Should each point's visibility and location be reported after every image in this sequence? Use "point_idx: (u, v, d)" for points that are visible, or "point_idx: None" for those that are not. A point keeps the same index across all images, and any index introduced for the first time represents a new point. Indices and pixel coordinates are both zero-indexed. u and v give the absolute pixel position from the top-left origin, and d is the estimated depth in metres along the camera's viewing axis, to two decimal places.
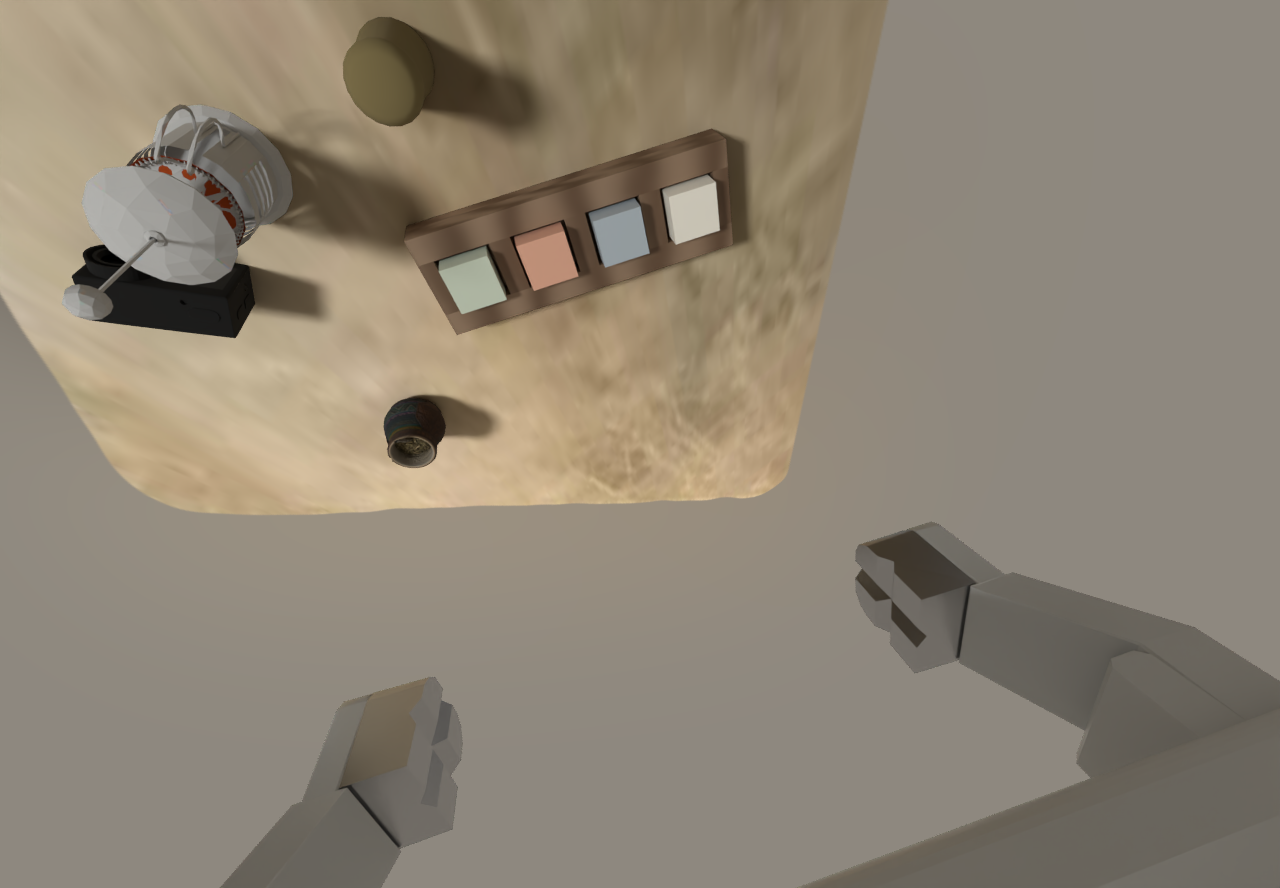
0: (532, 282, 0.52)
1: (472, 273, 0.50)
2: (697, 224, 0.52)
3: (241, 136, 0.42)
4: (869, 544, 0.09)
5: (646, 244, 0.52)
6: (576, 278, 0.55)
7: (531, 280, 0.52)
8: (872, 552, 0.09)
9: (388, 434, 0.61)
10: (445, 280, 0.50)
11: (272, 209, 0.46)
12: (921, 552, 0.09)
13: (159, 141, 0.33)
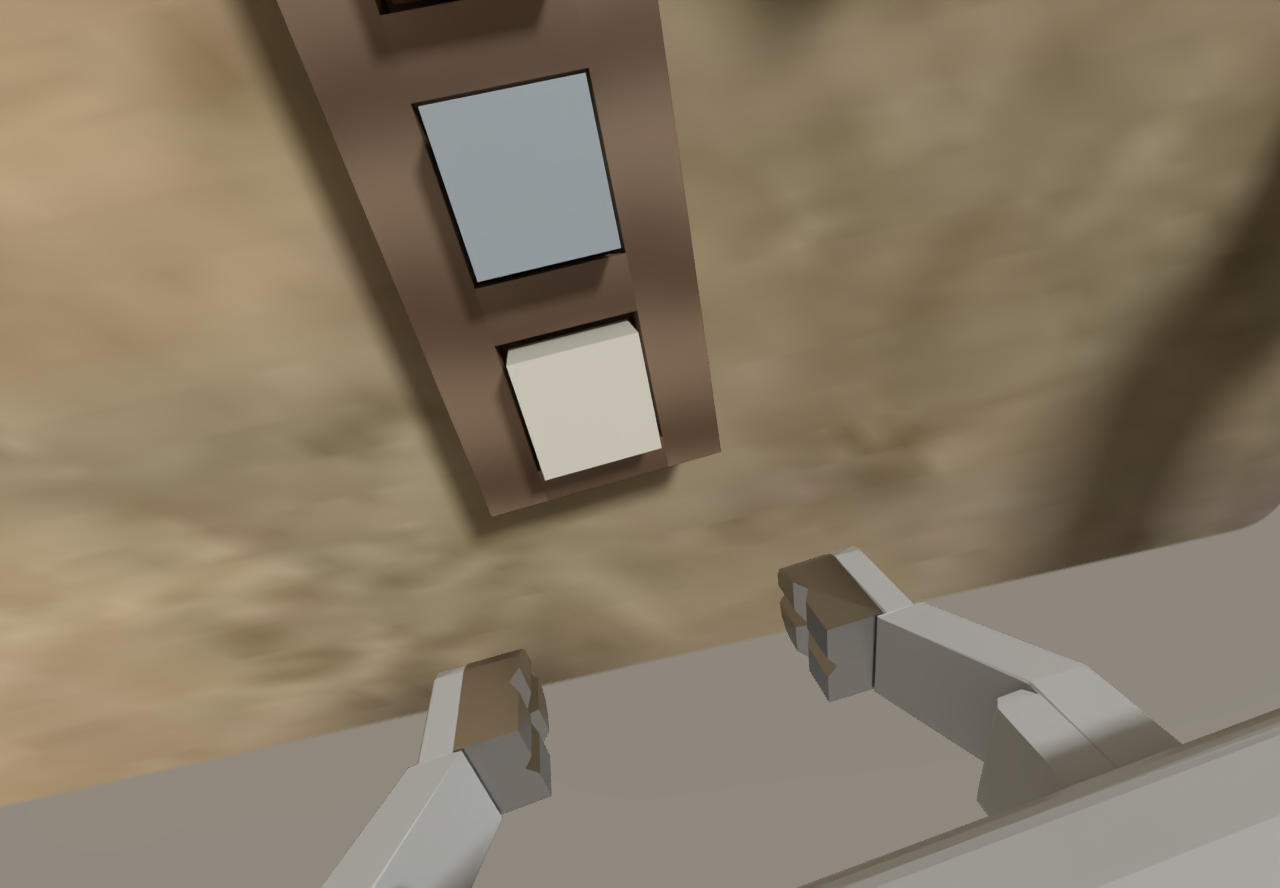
0: None
1: None
2: (562, 419, 0.19)
3: None
4: (787, 569, 0.09)
5: (506, 270, 0.17)
6: None
7: None
8: (789, 578, 0.09)
9: None
10: None
11: None
12: (836, 579, 0.08)
13: None
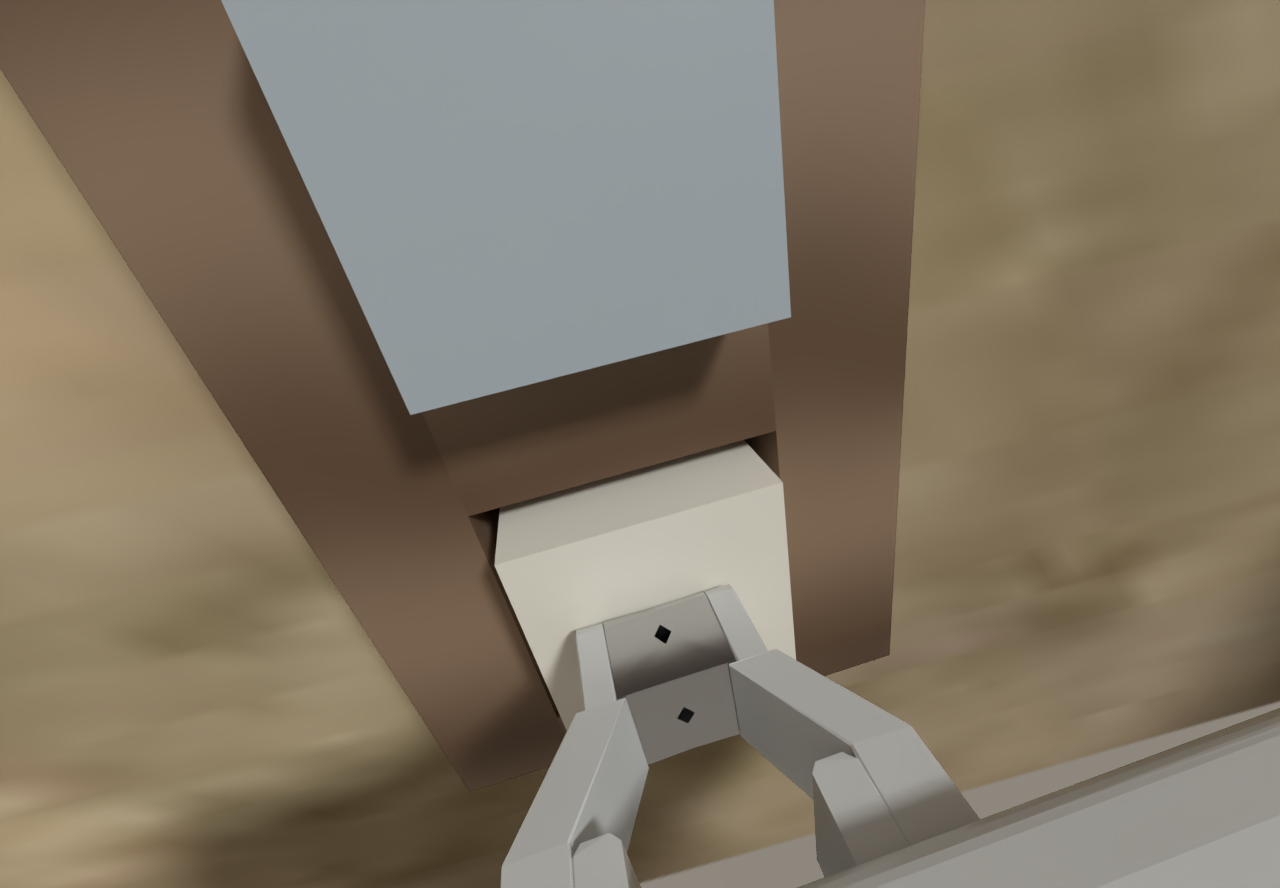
0: None
1: None
2: None
3: None
4: (658, 609, 0.09)
5: (490, 383, 0.06)
6: None
7: None
8: (657, 619, 0.08)
9: None
10: None
11: None
12: (701, 621, 0.08)
13: None
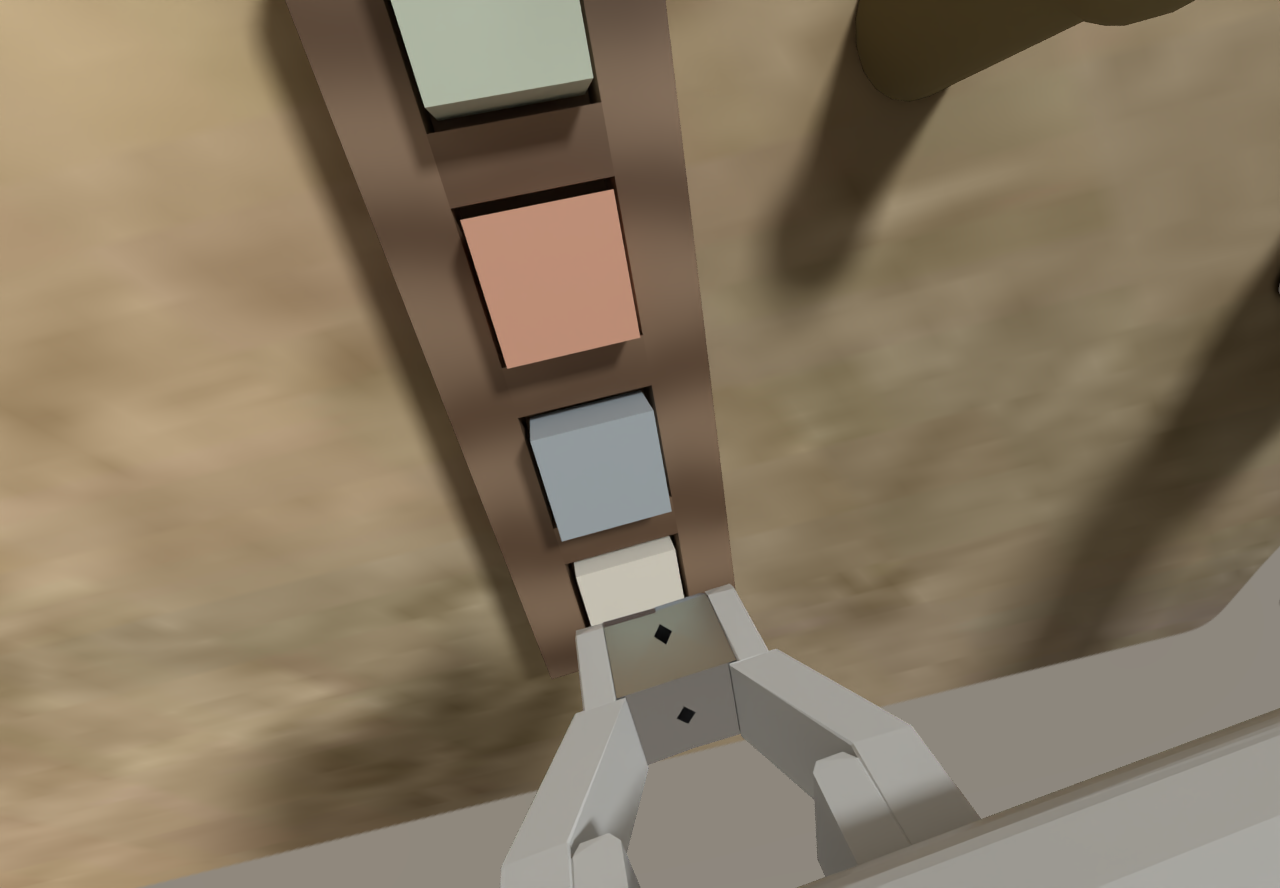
0: (491, 220, 0.16)
1: None
2: (614, 607, 0.25)
3: None
4: (659, 609, 0.09)
5: (584, 532, 0.22)
6: (480, 356, 0.19)
7: (499, 218, 0.16)
8: (657, 619, 0.08)
9: None
10: None
11: None
12: (702, 621, 0.08)
13: None
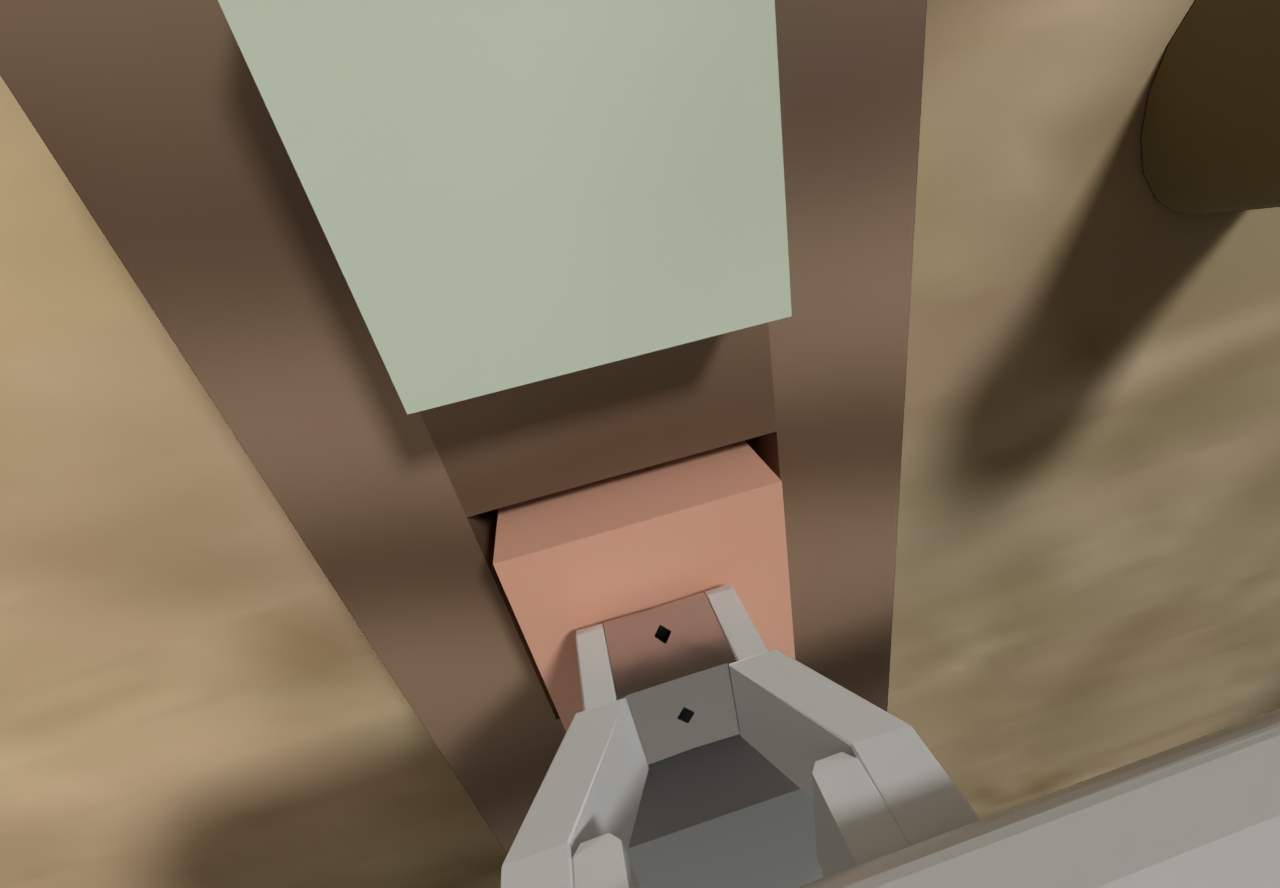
0: (552, 557, 0.08)
1: (676, 156, 0.05)
2: None
3: None
4: (658, 609, 0.09)
5: None
6: (521, 710, 0.11)
7: (566, 552, 0.08)
8: (657, 619, 0.08)
9: None
10: None
11: None
12: (701, 621, 0.08)
13: None
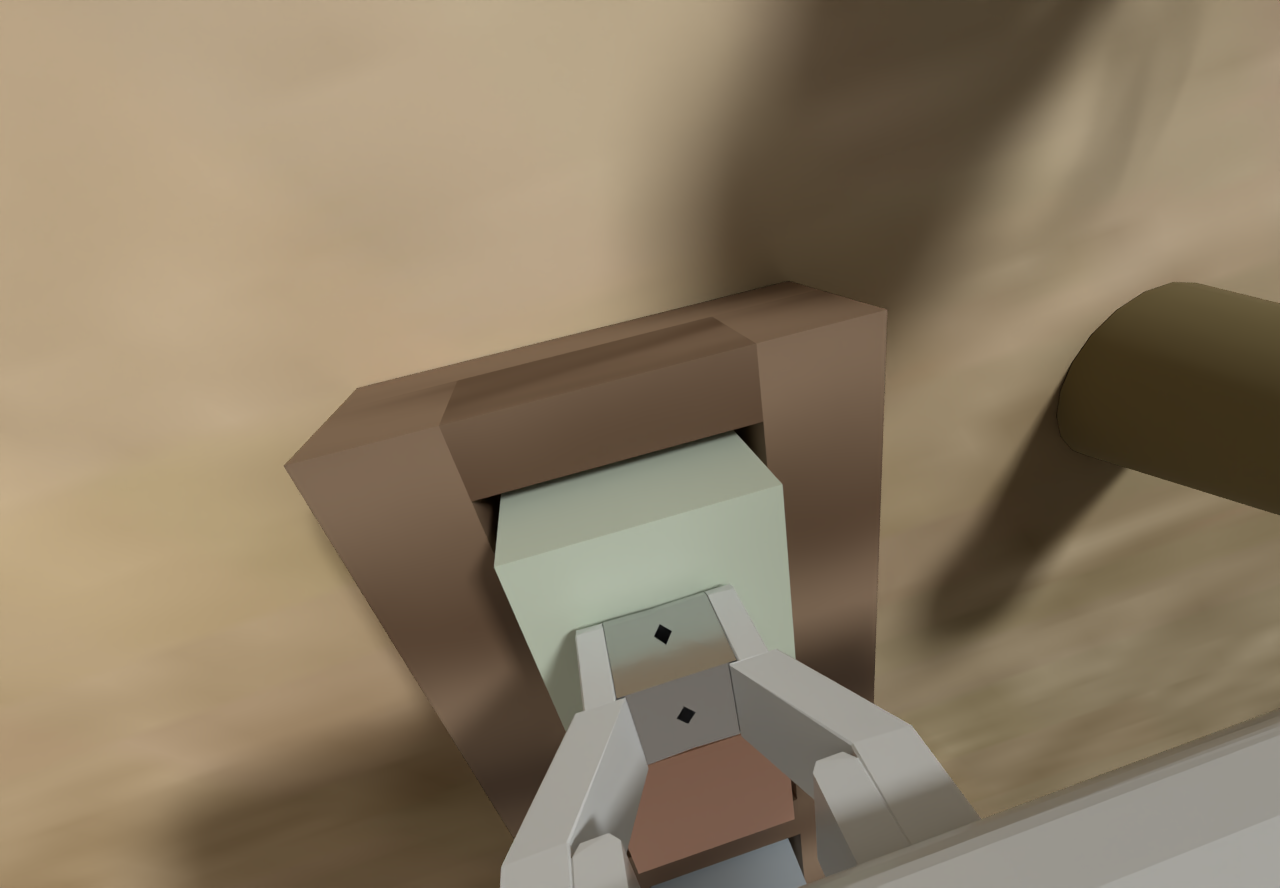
0: None
1: None
2: None
3: None
4: (659, 609, 0.09)
5: None
6: None
7: None
8: (657, 619, 0.08)
9: None
10: (725, 510, 0.08)
11: None
12: (702, 621, 0.08)
13: None
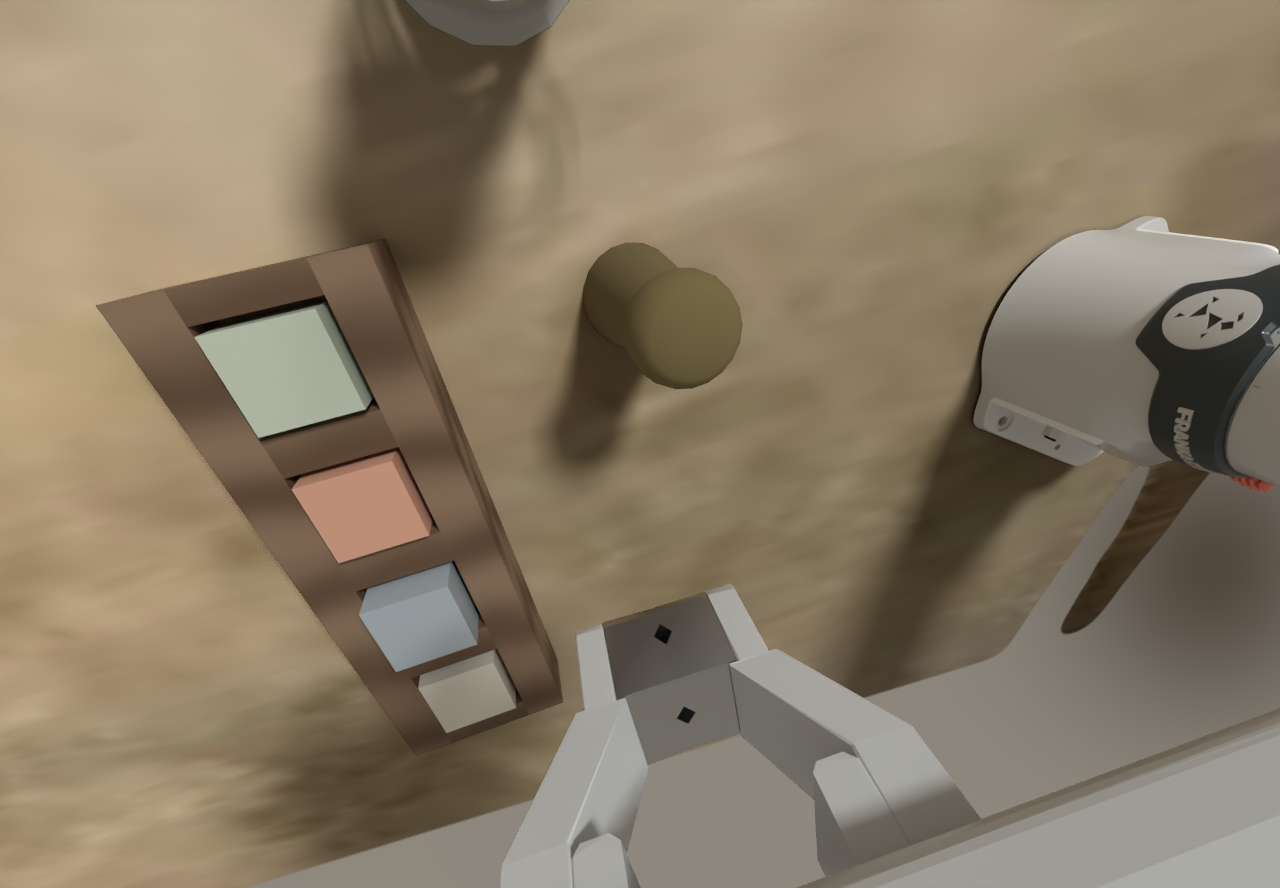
0: (312, 487, 0.25)
1: (319, 376, 0.23)
2: (453, 705, 0.34)
3: None
4: (659, 609, 0.09)
5: (412, 664, 0.30)
6: (320, 558, 0.28)
7: (317, 485, 0.25)
8: (657, 619, 0.08)
9: None
10: (292, 318, 0.22)
11: None
12: (702, 621, 0.08)
13: None
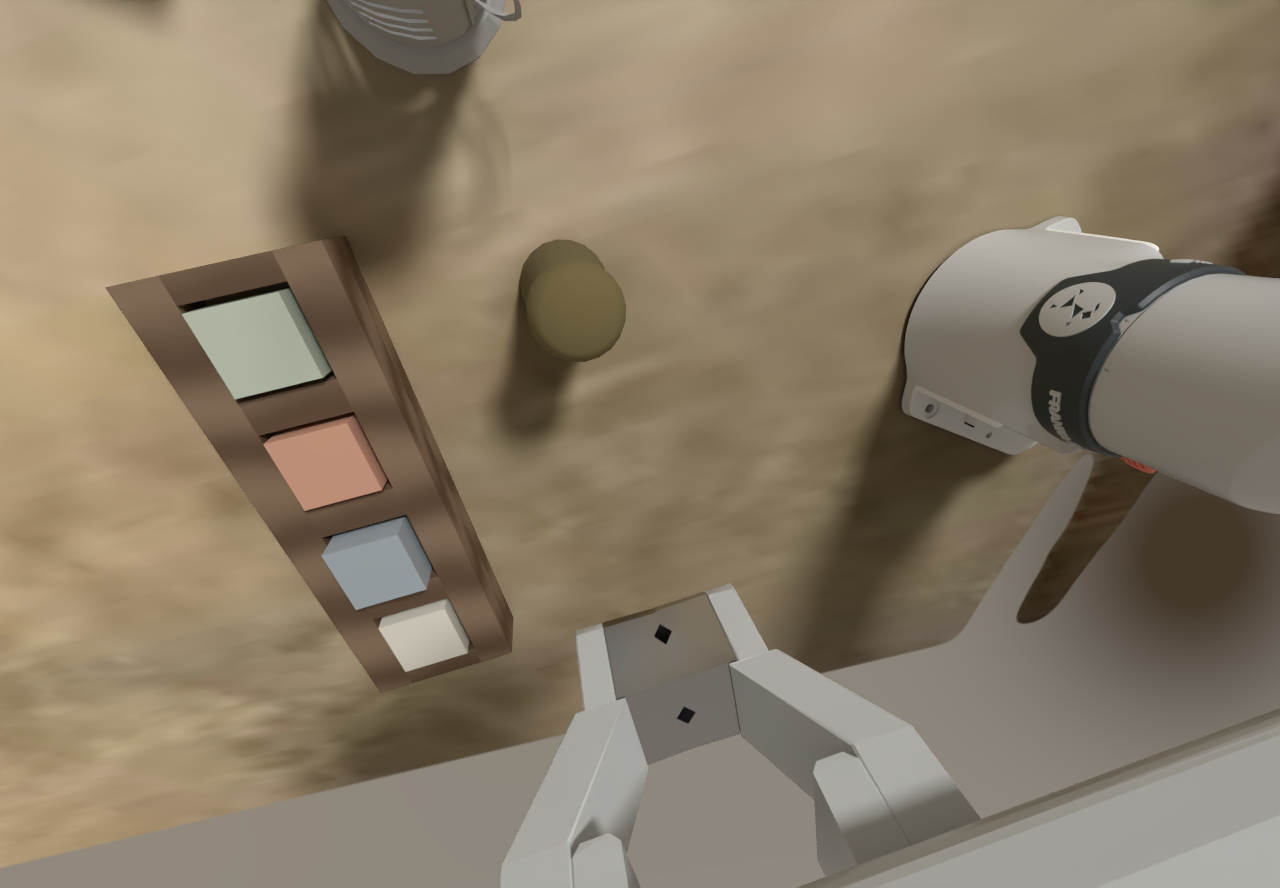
0: (280, 443, 0.30)
1: (283, 349, 0.28)
2: (410, 646, 0.39)
3: (468, 25, 0.27)
4: (659, 609, 0.09)
5: (369, 604, 0.35)
6: (291, 506, 0.33)
7: (284, 441, 0.30)
8: (657, 619, 0.08)
9: None
10: (259, 299, 0.27)
11: (347, 6, 0.26)
12: (702, 621, 0.08)
13: None
